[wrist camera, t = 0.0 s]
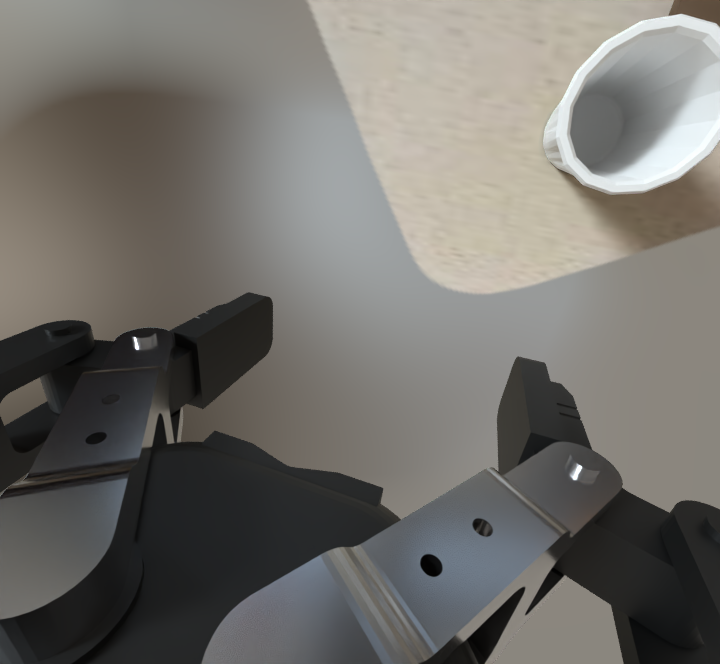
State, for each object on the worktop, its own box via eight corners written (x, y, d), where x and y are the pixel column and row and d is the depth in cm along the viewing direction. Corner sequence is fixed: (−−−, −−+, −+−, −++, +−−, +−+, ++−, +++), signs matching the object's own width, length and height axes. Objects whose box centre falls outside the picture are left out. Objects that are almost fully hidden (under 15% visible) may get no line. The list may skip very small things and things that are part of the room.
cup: (535, 194, 34) (562, 211, 22) (526, 97, 32) (549, 53, 19) (641, 169, 31) (741, 172, 19) (640, 58, 28) (756, -23, 16)
